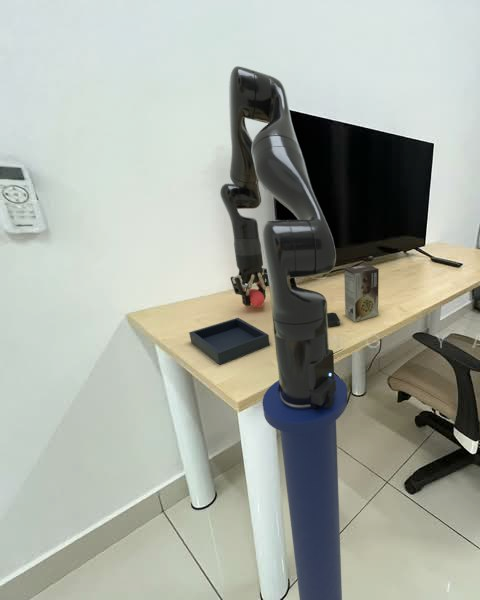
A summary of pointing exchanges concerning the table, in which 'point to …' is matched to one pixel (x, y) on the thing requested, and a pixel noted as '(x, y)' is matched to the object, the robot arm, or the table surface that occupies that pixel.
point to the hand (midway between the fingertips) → (255, 302)
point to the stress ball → (256, 297)
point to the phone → (333, 319)
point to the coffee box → (361, 292)
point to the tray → (229, 340)
